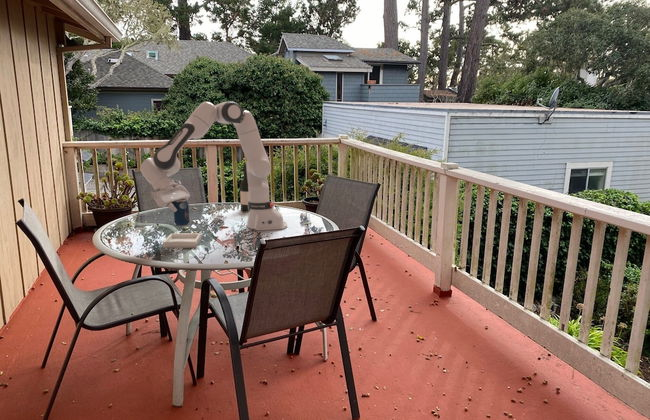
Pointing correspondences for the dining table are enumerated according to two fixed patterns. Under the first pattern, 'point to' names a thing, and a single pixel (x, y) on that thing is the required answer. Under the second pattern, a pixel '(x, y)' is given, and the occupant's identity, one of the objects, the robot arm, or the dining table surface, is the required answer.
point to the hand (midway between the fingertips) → (182, 209)
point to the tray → (182, 240)
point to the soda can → (181, 213)
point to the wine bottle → (244, 191)
